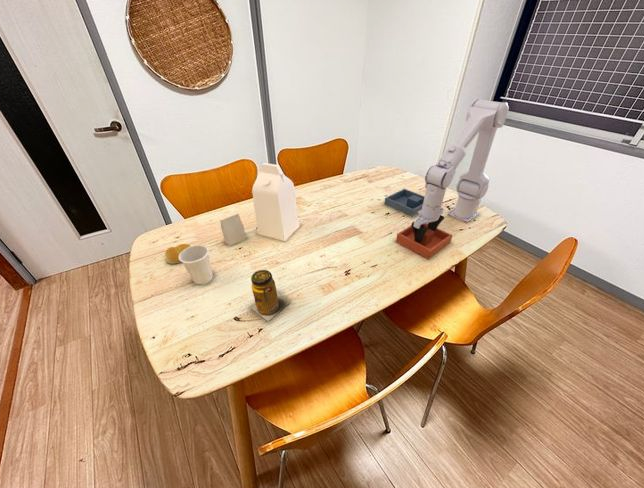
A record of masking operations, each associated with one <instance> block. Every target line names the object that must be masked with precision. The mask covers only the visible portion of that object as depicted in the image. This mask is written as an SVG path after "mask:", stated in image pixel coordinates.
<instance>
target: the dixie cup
mask: <svg viewBox="0 0 644 488" xmlns="http://www.w3.org/2000/svg"><path fill="white" fill-rule="evenodd" d="M190 246H191V247H188V248H186V249H184V250H183V251H182V252H181V253H180V254H179V260H180V261H181V262H180V263H181V264H182V265H183V266H184V268H185V269H186V271H187V273H188V274H189V276H190V277H191V279H192V280H193V282H194V283H195V284H196V285H205V284H207V283H209V282H210V281H212V279H213V278H214V276H213V275H214V274H213V269H212V264H211V260H210V250H209V248H208V247H207V246H206V245H202V244H195V245H190Z"/></svg>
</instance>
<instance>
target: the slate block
mask: <svg viewBox="0 0 644 488" xmlns="http://www.w3.org/2000/svg"><path fill="white" fill-rule="evenodd" d="M422 199H423V198H421V197H418V196H415V195H413V196H411V197H409V198H408V199H407V204H406V206H407V207H409V208H412V209H414V208H416V207H418V206H419V205H421V204H422Z"/></svg>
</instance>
